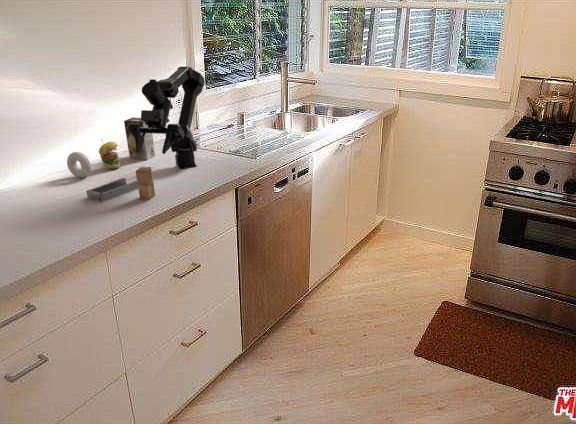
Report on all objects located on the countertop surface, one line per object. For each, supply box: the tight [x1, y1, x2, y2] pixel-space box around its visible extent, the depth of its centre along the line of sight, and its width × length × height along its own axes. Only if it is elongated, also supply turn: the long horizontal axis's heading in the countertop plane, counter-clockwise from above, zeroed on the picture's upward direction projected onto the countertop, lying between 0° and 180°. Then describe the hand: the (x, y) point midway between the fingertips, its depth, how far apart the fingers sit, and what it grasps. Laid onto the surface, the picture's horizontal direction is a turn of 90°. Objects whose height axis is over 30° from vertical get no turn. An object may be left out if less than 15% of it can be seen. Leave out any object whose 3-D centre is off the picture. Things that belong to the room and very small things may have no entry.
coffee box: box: [123, 116, 156, 161], centre depth 206 cm, size 9×6×16 cm
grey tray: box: [86, 177, 139, 203], centre depth 171 cm, size 15×8×2 cm, turn 144°
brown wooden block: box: [135, 166, 156, 201], centre depth 164 cm, size 4×4×10 cm
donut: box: [66, 151, 92, 179], centre depth 186 cm, size 10×4×10 cm, turn 69°
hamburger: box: [98, 138, 121, 170], centre depth 195 cm, size 8×7×12 cm
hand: (150, 153), depth 167 cm, fingers open, 9 cm apart
